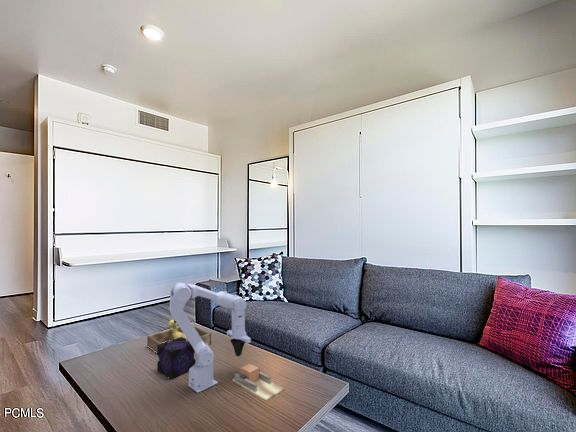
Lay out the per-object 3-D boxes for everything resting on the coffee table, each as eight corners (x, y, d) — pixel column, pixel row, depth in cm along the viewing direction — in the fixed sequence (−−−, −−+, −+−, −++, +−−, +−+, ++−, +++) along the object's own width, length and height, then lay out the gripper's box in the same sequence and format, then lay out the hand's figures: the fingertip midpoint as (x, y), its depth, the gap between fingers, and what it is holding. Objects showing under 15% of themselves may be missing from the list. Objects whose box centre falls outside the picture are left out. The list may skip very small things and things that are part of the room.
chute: (266, 401, 112) (266, 391, 112) (232, 381, 126) (232, 372, 127) (284, 389, 120) (284, 380, 120) (250, 372, 134) (250, 364, 134)
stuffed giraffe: (161, 342, 167) (162, 314, 166) (194, 338, 174) (195, 311, 174) (162, 355, 152) (163, 324, 152) (198, 349, 160) (199, 320, 160)
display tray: (167, 360, 146) (167, 348, 146) (147, 347, 162) (147, 336, 162) (211, 344, 165) (211, 333, 165) (189, 334, 180) (189, 324, 180)
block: (249, 384, 123) (249, 372, 123) (240, 379, 127) (240, 367, 127) (258, 379, 126) (258, 367, 126) (249, 374, 130) (249, 363, 130)
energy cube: (181, 361, 145) (181, 336, 145) (195, 369, 137) (195, 343, 138) (157, 371, 136) (157, 344, 136) (171, 380, 128) (171, 352, 128)
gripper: (255, 325, 130) (256, 357, 130) (235, 318, 140) (235, 347, 140) (243, 330, 125) (243, 362, 125) (222, 322, 135) (223, 352, 134)
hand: (238, 355), depth 132 cm, fingers closed
